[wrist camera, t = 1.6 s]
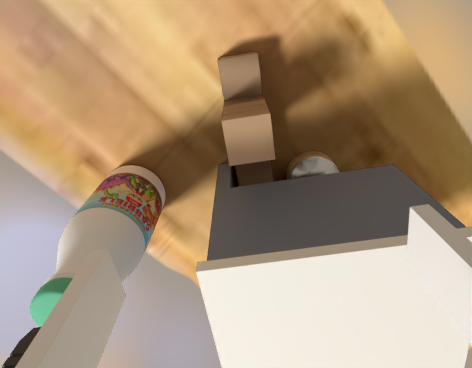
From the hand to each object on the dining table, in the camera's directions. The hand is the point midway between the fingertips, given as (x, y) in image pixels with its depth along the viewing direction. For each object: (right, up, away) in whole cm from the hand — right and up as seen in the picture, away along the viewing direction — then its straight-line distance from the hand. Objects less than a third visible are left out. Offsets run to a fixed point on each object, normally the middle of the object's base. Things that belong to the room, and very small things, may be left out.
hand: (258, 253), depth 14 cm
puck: (+8, +4, +26) cm, 28 cm away
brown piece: (+1, +7, +25) cm, 26 cm away
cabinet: (+7, +1, +28) cm, 29 cm away
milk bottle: (-14, +2, +27) cm, 31 cm away
